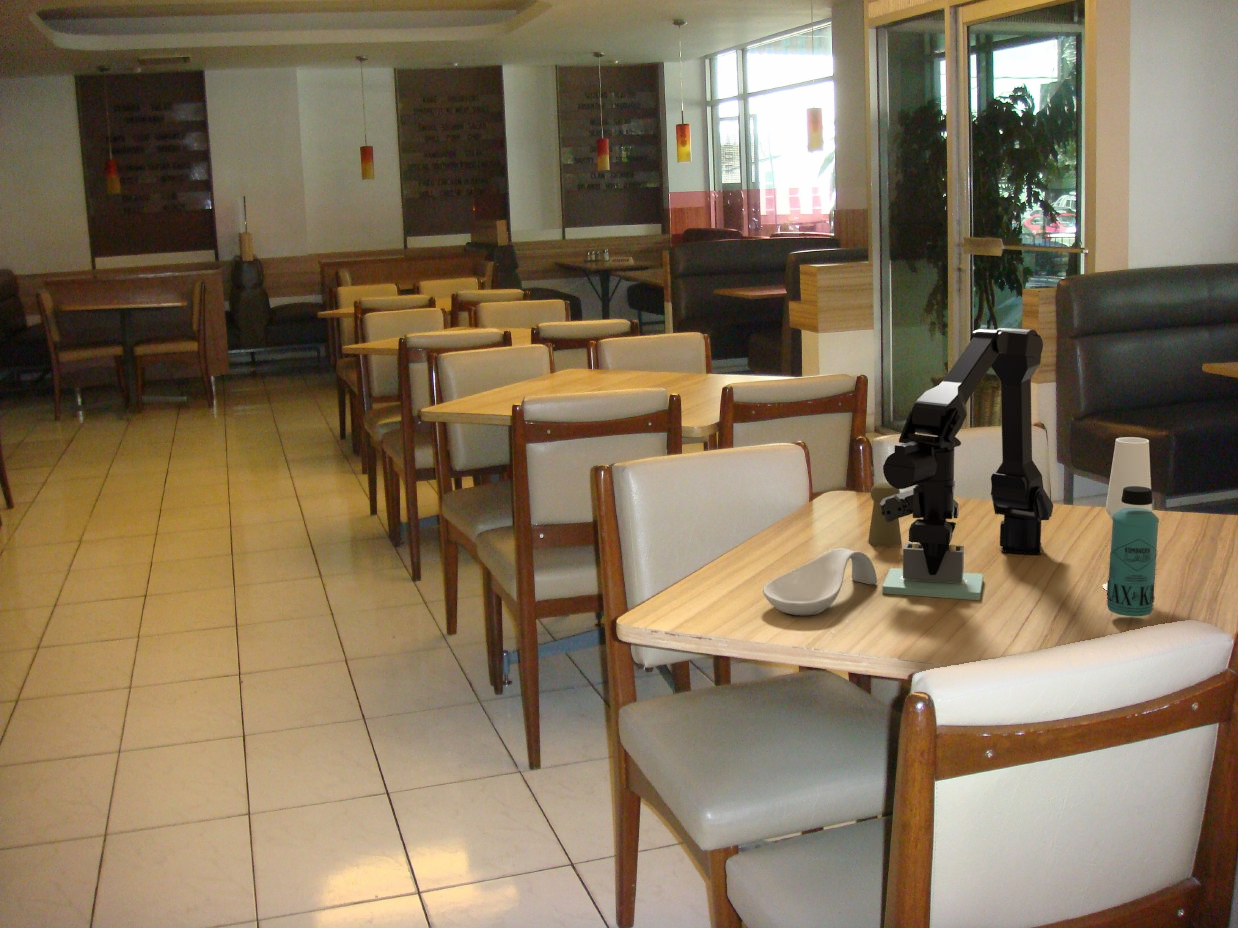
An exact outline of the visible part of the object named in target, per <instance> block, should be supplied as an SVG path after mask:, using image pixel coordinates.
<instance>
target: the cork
mask: <svg viewBox="0 0 1238 928" xmlns="http://www.w3.org/2000/svg"><path fill="white" fill-rule="evenodd" d="M899 493H901V491H900V489H897V488H894V487H892V486H891V485H890V484H889V483H888V482H878V483H876V484H873V486H872V487H871V489H870V497H871V500H872V501H873V504H872V511H871V512H872V513H871V519H870V525H869V533H868V538H867V539H868V540H867V543H869V544H870V545H873V546H876V547H877V546H878V547H895V546H899V545H901V544H902V542H903V541H902V534H901V533H902V532H901V526H900V518H897V519H894V521H891V522H886V520H885V518H884V516H883V515H882V514H881V511H882V510H881V507H880V503H881V501H882V499H884V498H886V497H889V496H892V495H896V494H899Z"/></svg>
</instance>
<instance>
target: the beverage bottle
mask: <svg viewBox="0 0 1238 928" xmlns="http://www.w3.org/2000/svg"><path fill="white" fill-rule="evenodd" d="M1152 490H1153V489H1152V488H1151V489H1150V488H1147V487H1141V486H1129V487H1125V488H1123V494H1122V500H1121V501H1122V502H1123V503H1126V504H1131V505H1149V504H1152V505H1153V491H1152ZM1111 520H1112V528H1111V529H1112V530H1111V540H1110V541H1111V544H1110V553H1109V555H1108V558H1109V563H1108V568H1107V570H1108V573H1107V574H1108V575H1107V576H1108V577H1107V578H1108V579H1107V582H1106V583H1107V591H1106V596H1107V597H1106V602H1105V603H1106V605H1107V609H1108V611H1109V612H1111V613H1114V614H1115V615H1120V616H1126V617H1146V616H1148V615H1150V614H1152V611H1153V609H1154V606H1155V587H1156V585H1157V584H1156V582H1155V581H1156V577H1157V573H1156V571H1157V570H1158V569H1157V556H1158V552H1159V551H1158V549H1157V548H1158V535H1159V534H1158V533H1159V532H1158V530H1159V524H1160V519H1159V517H1158V516H1157V515H1156V514H1155V513H1154V512H1153V510H1152V511H1150V510H1148V509H1143V508H1123V509H1121V510H1119V511H1118V512H1117V513H1115V514H1114V515H1113V517H1112V519H1111Z"/></svg>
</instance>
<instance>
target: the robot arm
mask: <svg viewBox="0 0 1238 928" xmlns="http://www.w3.org/2000/svg"><path fill="white" fill-rule="evenodd" d="M1043 349H1044V341H1043V339H1042V336H1041V334H1038V332H1037V330H1035V329H1032V328H1031V329H1029V328H1014V327H1013V328H1012V327H1011V328H1009V327H1008V328H1007V327H998V328H997V329H996V328H995V329H993V328H978V329H976V330H974V331H973V332H972V334H971V335H970V339H969V342H968V344H967V345H966V347H965V348H964V350H963V351H962V353H961V354H960V355H959V357H958V359H957V360H956V361H955V363H954V364H953V365H952V367H951V368H950V370H949V371H948V373H947V374H946V375H945V377H944V378H943V380H942V381H941V382H940V383H939V385H935V386H934V387H933V388H929V389H927V390H925V392H924V393H923V394H921V395H920V397H919V398H917V400H916V401H915V402H914V403H913V405H912V407H911V409H910V412H909V414H908V416H907V418H906V422H905V424H904V425H903V429H902V431H901V434H900V436H899V438H898V444H895V445H894V452H892V453H890V455H888V456H887V457H886V459H885V460H884V464H883V466H882V472H883V473H882V474H883V475H884V479H885V480H886V483H889V484H890V485H891V486H892V487H894V488H897V489H899V490H904V489H907V488H911V487H912V488H913V489H911V490H907V491H906V490H905V491H903V492H900V493H899V494H896V495H892V496H889V497H886V498H884V499H882V501H881V503H880V507H881V510H882V511H881V514H882V515H883V516H884V518H885V520H886V522H891V521H894V519H897V518H899V519H900V518H904V517H906V516H910V515H912V519H915V520H914V521H913V522H912V523H911V524H910V526H909V528H908V542H909V543H920V544H921V545H922V547H923V551H924V555H925V559H926V563H927V568H928V572H929V574H930V575H936V574H937V571H938V569H939V567H940V564H941V562H942V560H943V558H944V555H945V553H946V551H947V548H948V546H949V545H951V541H952V539H953V533H954V531H955V528H956V524H957V523H956V522H955V521H947V520H952V519H958V518H959V510H960V509H959V508H960V507H959V503H958V502H957V501H956V499H955V498H954V496H955V495H954V491H955V487H956V484H955V483H956V480H955V448H957V447H960V446H961V445H962V442H961V441H960V440H959V438H957V437H956V436H957V434H958V433H959V431H960V430H961V429H962V427H963V424H964V422H965V420H966V418H967V416H968V411H967V403H968V401H969V399H970V398H971V396H972V395H973V393H974V391H976V389H977V387H978V386H979V384H980V383H981V381H982V380H983V379H984V378H985V375H986V374H987V372H988V371H989V370H990V368H991V369H992V371H993V372H994V373H995V375H996V376H997V378H998V380H999V382H1000V404H1001V406H1000V410H1001V411H1000V412H1001V413H1000V415H1001V454H1002V455H1001V456H1002V461H1001V464H1000V465H999V467H998V468H997V470H996V471H995V472H994V473H992V474H991V476H990V481H991V490H990V491H991V492H990V496H991V499H992V505H993V510H994V514H995V515H1001V516H1003V520H1001V521H1000V524H999V525H1000V526H999V528H1000V529H999V546H1000V547H1001V552H1002V553H1010V554H1012V553H1013V554H1026V555H1029V554H1030V555H1042V542H1041V541H1042V521H1049V520H1050V518H1052V514H1053V512H1054V511H1053V510H1054V504H1053V502H1052V499H1050V497H1049V496H1048V494H1047V492H1046V490H1045V488H1044V481H1043V474H1042V472H1041V471H1040V469H1039V468H1038V467H1037V465H1036V463H1035V462H1034V461H1033V443H1032V442H1033V439H1032V438H1033V437H1032V436H1033V435H1032V433H1033V431H1032V428H1033V427H1032V425H1033V424H1032V378H1033V376H1034V375H1035V373H1036V372H1037V370H1038V368H1039V366H1040V365H1041V362H1042V361H1041V359H1042V353H1043Z"/></svg>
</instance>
